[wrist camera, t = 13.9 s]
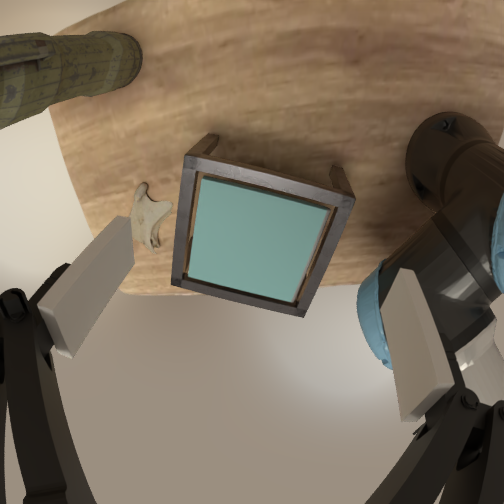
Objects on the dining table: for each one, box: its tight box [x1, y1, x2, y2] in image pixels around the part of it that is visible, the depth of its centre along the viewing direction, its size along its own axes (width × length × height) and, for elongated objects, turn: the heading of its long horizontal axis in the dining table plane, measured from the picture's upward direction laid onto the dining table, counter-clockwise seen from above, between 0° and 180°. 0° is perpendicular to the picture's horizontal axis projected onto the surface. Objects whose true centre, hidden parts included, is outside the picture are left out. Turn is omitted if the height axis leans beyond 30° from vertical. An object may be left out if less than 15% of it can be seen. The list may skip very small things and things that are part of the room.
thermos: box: [0, 31, 142, 129], centre depth 21 cm, size 9×12×35 cm
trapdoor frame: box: [171, 133, 356, 318], centre depth 42 cm, size 19×19×10 cm
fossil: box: [129, 183, 173, 254], centre depth 48 cm, size 7×11×3 cm, turn 156°
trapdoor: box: [188, 176, 331, 302], centre depth 38 cm, size 14×14×1 cm
